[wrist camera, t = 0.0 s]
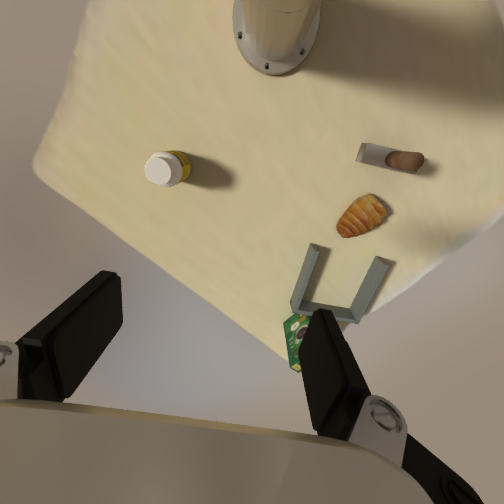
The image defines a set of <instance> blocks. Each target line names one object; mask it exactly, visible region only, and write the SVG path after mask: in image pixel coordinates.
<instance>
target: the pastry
mask: <svg viewBox="0 0 504 504" xmlns="http://www.w3.org/2000/svg"><path fill="white" fill-rule="evenodd" d="M386 215H387V211H386V210H385V208H384V206H383V205H382V204H381V203H380V202H379V201H378V200H377V199H376V198H375V196H374V195H373V194H368V195H365V196H362V197H360V198H358V199H357V200H356V201H354V202H353V203H352V204H351V205H350V206H349V208H348V209H347V210H346V211H345V213H344V214H343V215H342V216H341V218H340V219H339V221H338V223H337V227H336V228H337V231H338V233H339V234H340V235H341V236H342V237H343V238H350V237H354V236H355V237H356V236H358V235H359V234H364V233H365V232H367V231H370V230H371V229H373V228H374V226H375V225H380V224H381V223H382V219H383V218H385V217H386Z"/></svg>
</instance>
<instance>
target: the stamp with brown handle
mask: <svg viewBox="0 0 504 504" xmlns="http://www.w3.org/2000/svg"><path fill="white" fill-rule="evenodd" d="M355 161H359V162H363V163H367V164H372V165H376V166H380V167H385V168H389V169H394V170H398V171H402V172H407V173H412V174H416V172H417V170H418V169H419V168H420V167H421V166H422V165H423V162H424V156H423V154H421V153H419V152H405V151H400V150H396V149H392V148H387V147H383V146H379V145H375V144H371V143H362V144H361V147H360V149H359V152H358V155H357V157H356V160H355Z"/></svg>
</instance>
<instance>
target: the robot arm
mask: <svg viewBox="0 0 504 504" xmlns="http://www.w3.org/2000/svg"><path fill="white" fill-rule="evenodd" d="M322 1H323V0H235V1H234V6H233V30H234V35H235V39H236V42H237V46H238V48H239V50H240V52H241V54H242V56H243V57H244V59H245V60H246V61H247V63H248V64H250V65H251V66H252V67H253V68H254V69H256V70H258V71H259V72H261V73H264V74H268V75H279V74H284V73H286V72H289V71H291V70H292V69H294V68H295V67H297V66H298V65H299V64H300V63H301V62H302V61H303V60H304V59H305V57H306V56H307V54H308V53H309V51H310V49H311V48H312V46H313V44H314V41H315V39H316V36H317V32H318V28H319V22H320V5H321V3H322ZM239 36H242V39H239ZM300 52H303V55H300ZM266 66H268V67H269V69H266ZM122 323H123V314H122V293H121V278H120V277H119V276H117V273H115V272H109V271H100V272H99V273H98V274H97V275H95V276H94V277H93V278H92V279H91V280H89V281H88V282H87V283H86V284H85V285H83V286H82V287H81V288H80V289H79V290H77V291H76V292H75V293H74V294H73V295H72V296H70V297H69V298H68V299H67V300H66V301H64V302H63V303H62V304H61V305H60V306H58V307H57V308H56V309H55V310H54V311H52V312H51V313H50V314H49V315H48V316H47V317H46V318H44V319H43V320H42V321H41V322H39V323H38V324H37V325H36V326H34V327H33V328H32V329H31V330H30V331H29V332H27V333H26V334H25V335H24V336H23V337H21V338H20V339H19V340H18V341H17V342H15V343H12V342H8V341H0V504H484V503H483V502H482V500H481V499H480V497H479V496H478V494H477V493H476V492H475V491H474V490H473V488H472V487H471V486H470V485H469V484H468V483H467V482H466V481H465V480H463V479H462V478H461V477H460V476H459V475H458V474H456V473H455V472H454V471H453V470H452V469H450V468H449V467H448V466H447V465H445V464H444V463H443V462H442V461H441V460H440V459H438V458H437V457H436V456H435V455H433V454H432V453H431V452H430V451H429V450H427V449H426V448H425V447H424V446H423V445H421V444H420V443H419V442H418V441H417V440H415V439H414V438H413V437H412V436H411V435H409V434H408V433H407V424H406V421H405V419H404V417H403V416H402V414H401V412H400V411H399V410H398V409H397V408H396V407H395V406H394V405H393V404H392V403H391V402H390V401H388V400H386V399H385V398H383V397H380V396H377V395H371V392H370V390H369V388H368V386H367V384H366V382H365V379H364V377H363V375H362V373H361V371H360V369H359V366H358V364H357V362H356V360H355V358H354V356H353V353H352V351H351V349H350V347H349V345H348V343H347V342H346V341H345V339H344V336H343V334H342V332H341V330H340V328H339V325H338V323H337V321H336V319H335V317H334V315H333V312H332V311H331V310H328V309H323V308H319V309H318V310H315V311H314V312H313V314H312V317H311V319H310V322H309V324H308V327H307V329H306V332H305V334H304V336H303V339H302V341H301V344H300V346H299V349H298V357H299V362H300V367H301V372H302V377H303V381H304V387H305V392H306V396H307V402H308V406H309V411H310V416H311V421H312V426H313V429H314V430H315V431H317V434H318V436H317V435H310V434H304V433H297V432H291V431H284V430H277V429H269V428H262V427H254V426H247V425H240V424H232V423H225V422H217V421H209V420H201V419H193V418H186V417H178V416H171V415H163V414H155V413H147V412H138V411H131V410H123V409H115V408H106V407H97V406H90V405H81V404H72V403H63V401H64V399H65V398H69V397H70V396H71V395H72V394H73V393H74V391H75V390H76V389H77V387H78V386H79V384H80V383H81V382H82V380H83V379H84V378H85V376H86V375H87V374H88V372H89V370H90V369H91V368H92V366H93V365H94V364H95V362H96V361H97V360H98V358H99V357H100V356H101V354H102V353H103V351H104V350H105V348H106V347H107V346H108V344H109V343H110V342H111V340H112V339H113V337H114V336H115V335H116V333H117V332H118V330H119V329H120V327H121V326H122Z"/></svg>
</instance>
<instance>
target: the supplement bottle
mask: <svg viewBox="0 0 504 504" xmlns="http://www.w3.org/2000/svg"><path fill="white" fill-rule="evenodd" d="M191 170H192V165H191V162H190V160H189V158H188V157H187V156H186V155H185V154H184V153H182V152H180V151H161V152H157V153H155V154H153V155H152V156H151V157H150V159H149V160H148V161H147V162H146V164H145V173H146V176H147V178H148V179H149V180H150V181H151V182H152V183H154V184H156V185H161V186H164V187H171V186H174V185H176V184H178V183H180V182H182V181H184V180H186V179H187V178H188V177H189V176H190V174H191Z"/></svg>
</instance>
